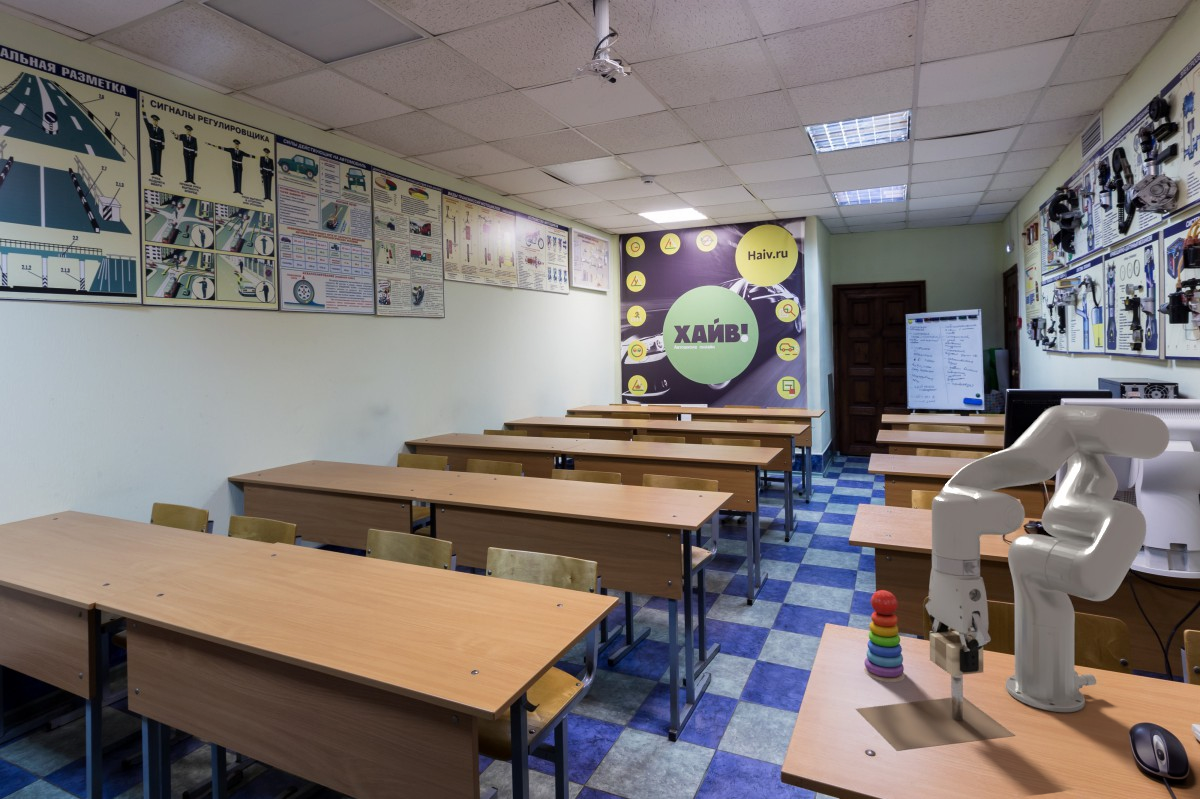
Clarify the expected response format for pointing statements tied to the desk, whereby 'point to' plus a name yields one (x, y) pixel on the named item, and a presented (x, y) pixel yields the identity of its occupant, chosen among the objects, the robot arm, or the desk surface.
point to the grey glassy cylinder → (957, 697)
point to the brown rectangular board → (931, 724)
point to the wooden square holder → (950, 652)
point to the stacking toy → (884, 640)
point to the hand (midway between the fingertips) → (956, 661)
